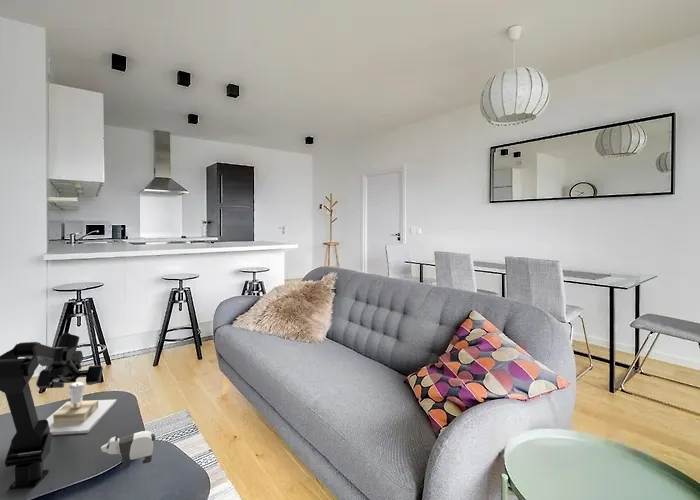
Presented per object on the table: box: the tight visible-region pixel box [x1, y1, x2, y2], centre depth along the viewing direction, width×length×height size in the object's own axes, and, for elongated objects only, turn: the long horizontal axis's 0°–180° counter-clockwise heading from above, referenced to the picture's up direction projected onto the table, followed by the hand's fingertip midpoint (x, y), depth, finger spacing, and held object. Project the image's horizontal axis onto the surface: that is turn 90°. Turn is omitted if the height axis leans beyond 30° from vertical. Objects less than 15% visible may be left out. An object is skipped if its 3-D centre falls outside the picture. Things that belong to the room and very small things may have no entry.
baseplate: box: [45, 399, 117, 436], centre depth 137 cm, size 22×18×1 cm
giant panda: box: [99, 430, 156, 470], centre depth 113 cm, size 15×6×10 cm, turn 117°
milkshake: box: [68, 381, 85, 409], centre depth 136 cm, size 4×5×10 cm
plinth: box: [53, 399, 99, 423], centre depth 137 cm, size 10×10×3 cm
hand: (77, 384), depth 137 cm, fingers open, 9 cm apart
